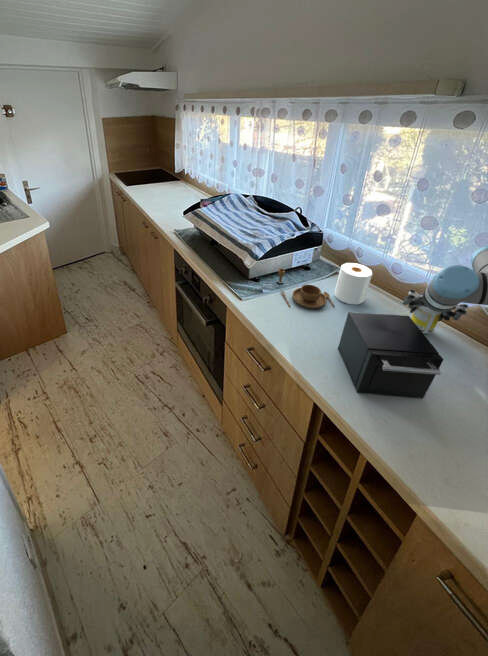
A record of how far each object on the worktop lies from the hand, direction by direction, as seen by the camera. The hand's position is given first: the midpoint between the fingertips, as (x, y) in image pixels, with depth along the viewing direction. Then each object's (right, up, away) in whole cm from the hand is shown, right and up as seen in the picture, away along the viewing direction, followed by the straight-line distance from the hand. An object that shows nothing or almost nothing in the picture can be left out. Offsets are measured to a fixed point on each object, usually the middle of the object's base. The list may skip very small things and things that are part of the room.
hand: (425, 313), depth 100 cm
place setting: (-33, +4, +18) cm, 38 cm away
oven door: (-27, -17, -23) cm, 39 cm away
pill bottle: (-2, -5, -1) cm, 5 cm away
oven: (-25, -13, -14) cm, 32 cm away
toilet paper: (-17, +3, +16) cm, 24 cm away
